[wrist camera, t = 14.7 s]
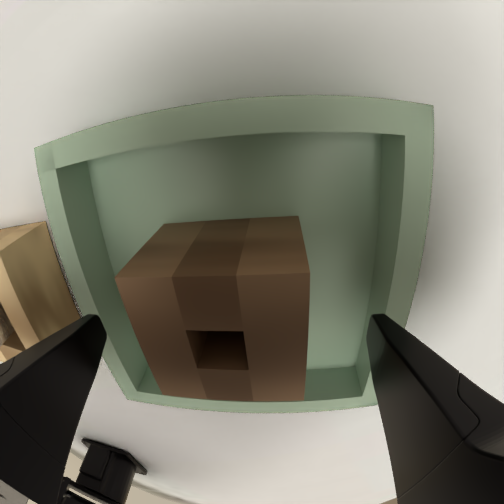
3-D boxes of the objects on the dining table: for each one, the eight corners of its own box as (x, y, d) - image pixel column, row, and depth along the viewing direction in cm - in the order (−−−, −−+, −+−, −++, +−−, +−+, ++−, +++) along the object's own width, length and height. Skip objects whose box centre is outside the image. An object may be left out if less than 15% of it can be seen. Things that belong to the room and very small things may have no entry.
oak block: (93, 345, 15) (67, 385, 12) (20, 330, 16) (-4, 359, 13) (45, 221, 12) (-1, 252, 8) (-21, 233, 12) (-55, 256, 9)
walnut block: (299, 326, 12) (304, 400, 9) (188, 326, 13) (162, 395, 9) (298, 215, 10) (310, 272, 7) (163, 223, 11) (114, 277, 7)
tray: (368, 369, 14) (377, 405, 12) (141, 368, 15) (127, 399, 13) (400, 106, 8) (433, 105, 6) (72, 138, 10) (33, 148, 8)
